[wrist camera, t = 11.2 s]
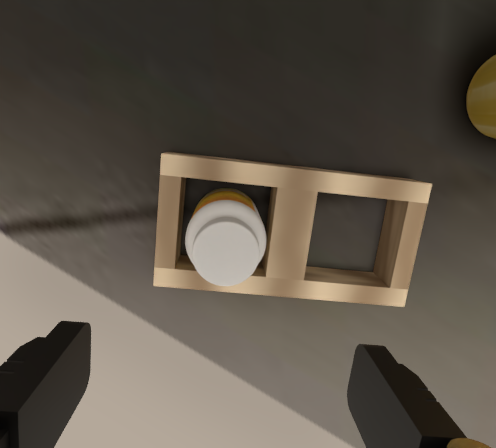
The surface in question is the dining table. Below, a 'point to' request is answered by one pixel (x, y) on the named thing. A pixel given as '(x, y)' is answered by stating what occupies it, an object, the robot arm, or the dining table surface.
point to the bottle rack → (295, 230)
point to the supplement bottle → (225, 237)
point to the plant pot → (483, 98)
